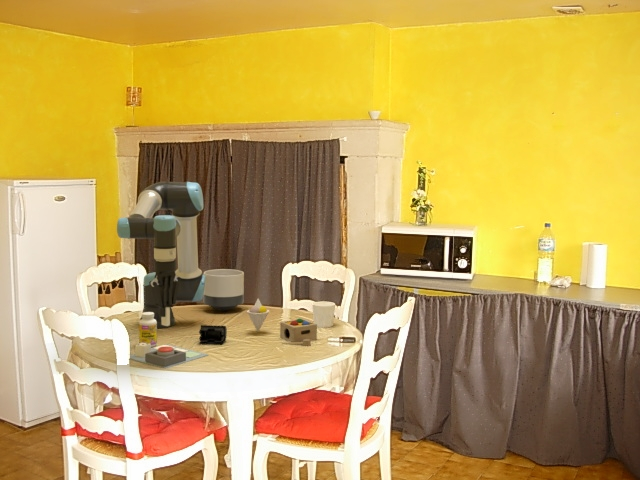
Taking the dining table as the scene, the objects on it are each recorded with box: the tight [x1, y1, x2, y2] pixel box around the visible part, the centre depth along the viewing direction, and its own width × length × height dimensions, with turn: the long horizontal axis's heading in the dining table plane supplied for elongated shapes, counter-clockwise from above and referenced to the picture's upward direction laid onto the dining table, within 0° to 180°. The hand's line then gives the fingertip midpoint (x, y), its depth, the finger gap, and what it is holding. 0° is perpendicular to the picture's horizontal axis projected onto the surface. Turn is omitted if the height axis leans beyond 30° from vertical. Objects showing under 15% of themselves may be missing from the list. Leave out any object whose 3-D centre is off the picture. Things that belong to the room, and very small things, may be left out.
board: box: [129, 343, 209, 369], centre depth 256 cm, size 22×21×1 cm
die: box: [134, 342, 152, 357], centre depth 255 cm, size 4×4×4 cm
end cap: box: [198, 324, 228, 346], centre depth 277 cm, size 10×7×7 cm
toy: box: [246, 297, 270, 333], centre depth 292 cm, size 9×9×15 cm
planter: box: [202, 268, 245, 311], centre depth 337 cm, size 19×19×18 cm
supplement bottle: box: [138, 312, 158, 348], centre depth 270 cm, size 7×7×13 cm
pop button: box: [157, 347, 174, 357], centre depth 249 cm, size 6×6×4 cm
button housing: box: [145, 350, 186, 368], centre depth 249 cm, size 10×10×3 cm
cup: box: [311, 301, 336, 329], centre depth 307 cm, size 10×10×10 cm
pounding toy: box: [279, 318, 318, 347], centre depth 281 cm, size 18×17×8 cm
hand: (165, 325), depth 248 cm, fingers closed
